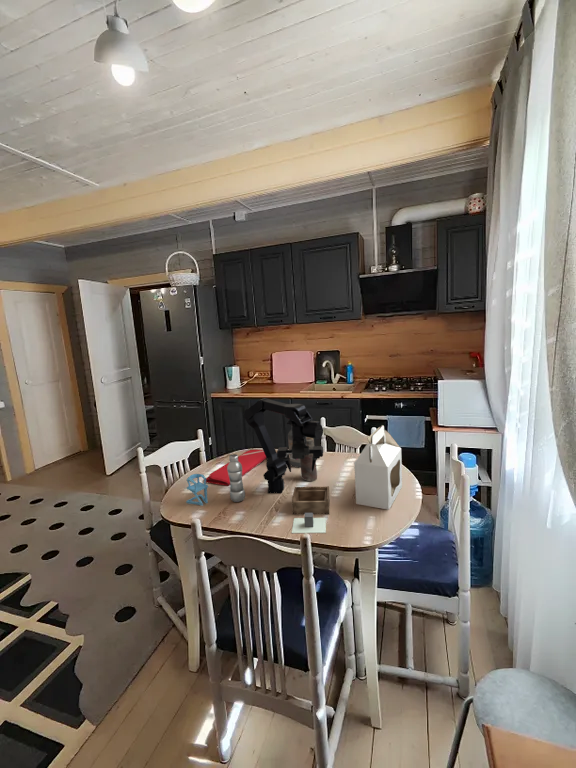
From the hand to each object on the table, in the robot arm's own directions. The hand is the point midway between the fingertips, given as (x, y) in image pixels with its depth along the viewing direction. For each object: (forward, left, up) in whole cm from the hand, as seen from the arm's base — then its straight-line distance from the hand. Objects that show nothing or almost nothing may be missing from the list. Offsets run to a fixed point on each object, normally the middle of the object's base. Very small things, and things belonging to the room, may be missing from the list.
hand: (301, 471), depth 157 cm
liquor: (-5, +38, -12) cm, 40 cm away
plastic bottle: (-28, -1, -12) cm, 31 cm away
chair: (-45, -2, -12) cm, 47 cm away
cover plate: (+4, -21, -13) cm, 25 cm away
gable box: (+32, +3, -12) cm, 34 cm away
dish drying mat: (-36, +35, -13) cm, 52 cm away
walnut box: (+4, -7, -12) cm, 15 cm away
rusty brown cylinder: (+1, +20, -12) cm, 23 cm away
